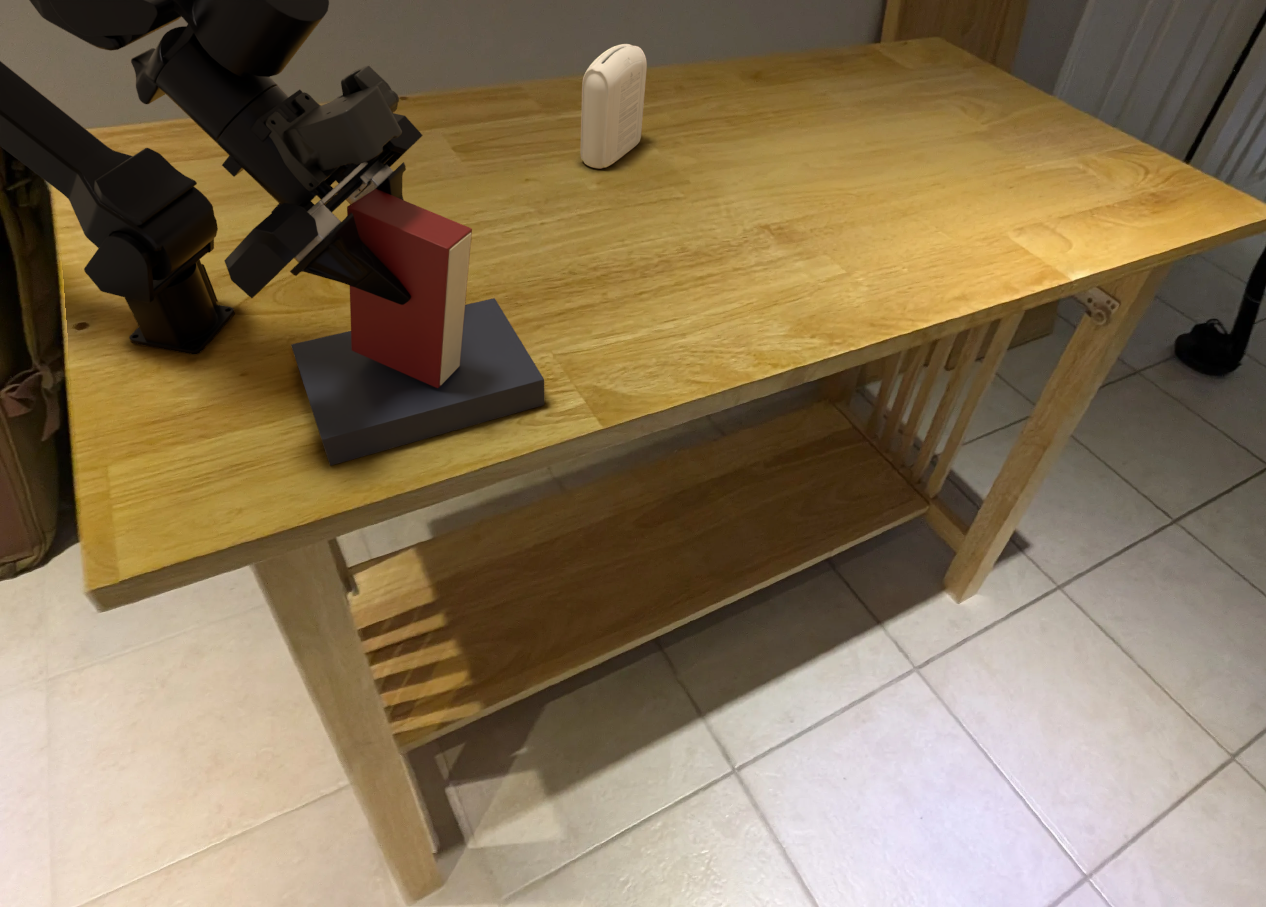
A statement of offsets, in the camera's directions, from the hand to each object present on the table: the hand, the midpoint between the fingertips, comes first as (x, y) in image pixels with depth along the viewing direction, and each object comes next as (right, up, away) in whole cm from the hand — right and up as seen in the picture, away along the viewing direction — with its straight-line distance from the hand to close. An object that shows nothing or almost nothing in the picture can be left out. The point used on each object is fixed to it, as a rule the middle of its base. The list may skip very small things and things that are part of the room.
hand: (419, 286), depth 60 cm
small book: (-2, -5, +5) cm, 8 cm away
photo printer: (+13, +25, +40) cm, 49 cm away
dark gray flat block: (-2, -7, +8) cm, 11 cm away
